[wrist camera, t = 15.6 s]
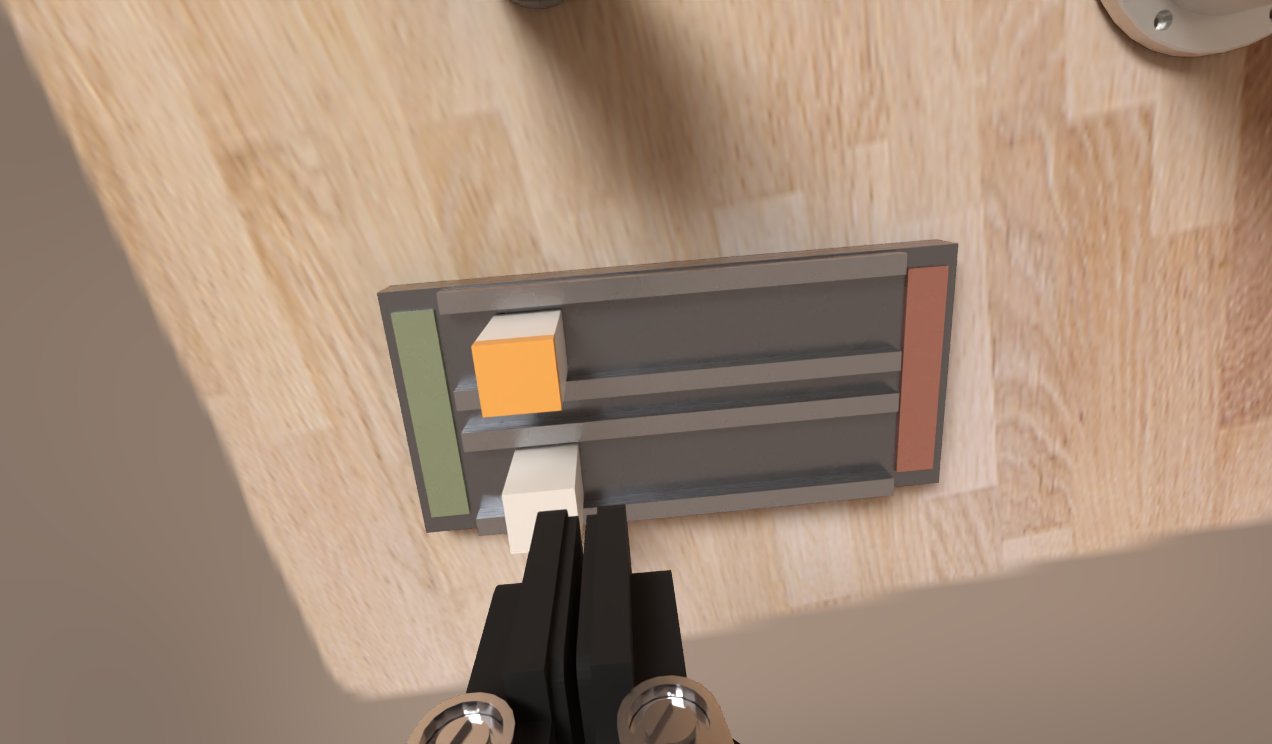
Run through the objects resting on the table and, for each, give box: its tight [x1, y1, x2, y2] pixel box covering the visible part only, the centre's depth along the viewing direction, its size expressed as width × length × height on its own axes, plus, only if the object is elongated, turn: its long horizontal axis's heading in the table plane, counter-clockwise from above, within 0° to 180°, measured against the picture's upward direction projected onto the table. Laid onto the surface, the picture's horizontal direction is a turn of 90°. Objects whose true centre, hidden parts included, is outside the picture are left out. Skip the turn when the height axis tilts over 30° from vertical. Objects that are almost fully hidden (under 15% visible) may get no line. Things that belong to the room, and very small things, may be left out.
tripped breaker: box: [471, 309, 568, 418], centre depth 28 cm, size 3×3×6 cm
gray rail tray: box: [377, 239, 958, 536], centre depth 32 cm, size 28×13×3 cm, turn 94°
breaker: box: [502, 442, 584, 554], centre depth 30 cm, size 3×3×5 cm
